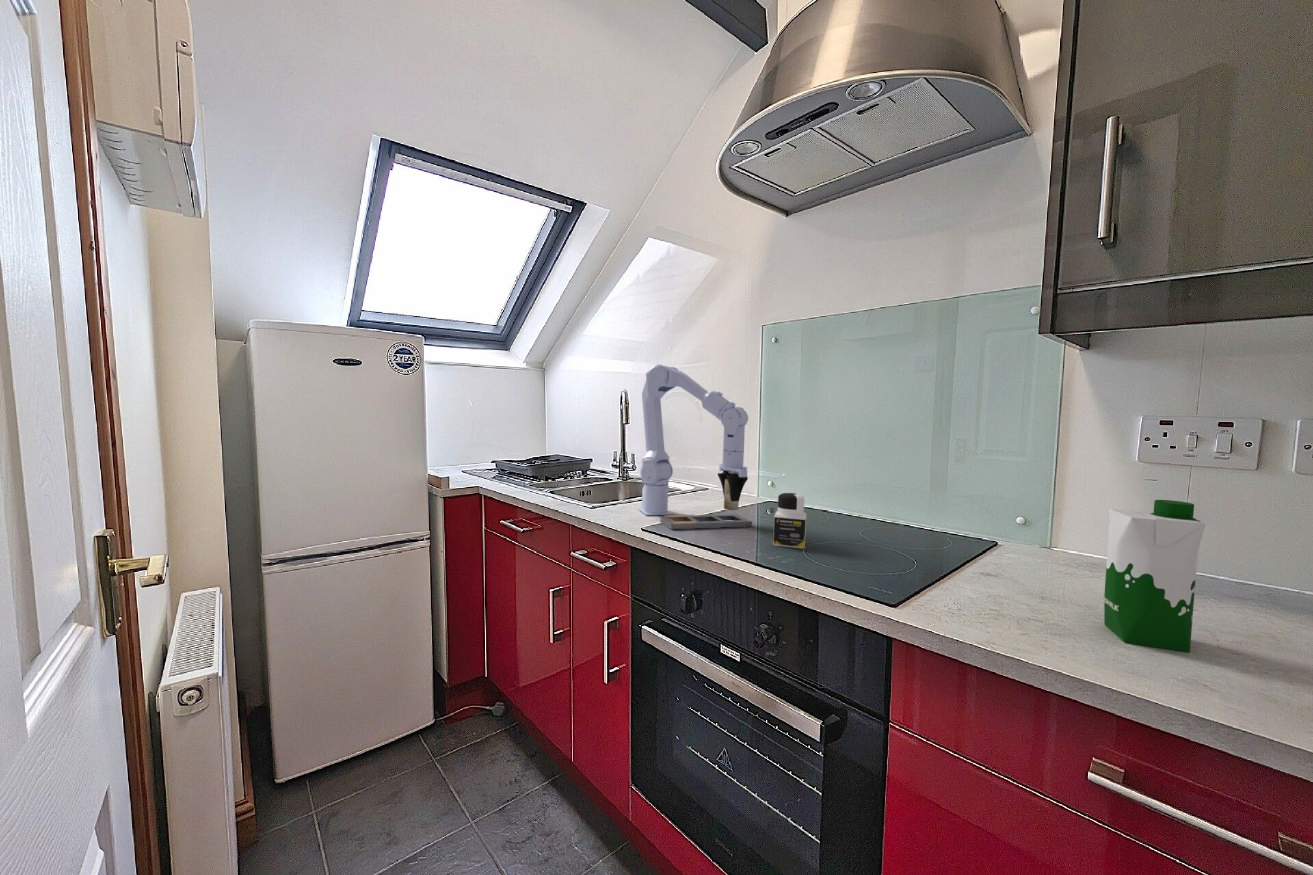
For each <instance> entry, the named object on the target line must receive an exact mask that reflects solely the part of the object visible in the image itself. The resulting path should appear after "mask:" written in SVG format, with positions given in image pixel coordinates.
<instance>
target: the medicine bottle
mask: <svg viewBox="0 0 1313 875" xmlns="http://www.w3.org/2000/svg"><path fill="white" fill-rule="evenodd" d="M806 528H807V513H806V512H805V496H804V495H803V494H800V493H794V492H783V493H780V494H779V495H778V497H777V510H776V511H775V513H774V515H773V538H772V545H773V546H775V547H786V548H794V549H795V548H798V549H805V548H806Z"/></svg>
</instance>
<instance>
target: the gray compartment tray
mask: <svg viewBox="0 0 1313 875" xmlns="http://www.w3.org/2000/svg"><path fill="white" fill-rule="evenodd" d="M659 516H660V518H659V519H660V523H661V524H662V525H664V526H665V527H667V528H668V529H669V528H670V529H669V530H671V529H683V530H691V529H690V528H710V529H721V528H720V527H738V528H745V527H744V526H752V527H753V521H752V520H750V519H748V518H746V517H743V516H741V515H739V514H737V513H735V514H733V513H730V514H727V513H726V514H702V515H701V514H700V515H699V514H698V515H693V514H692V515H685V514H676V515H675V514H672V515H659ZM725 520H733V521H725Z"/></svg>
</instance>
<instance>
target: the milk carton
mask: <svg viewBox="0 0 1313 875" xmlns="http://www.w3.org/2000/svg"><path fill="white" fill-rule="evenodd" d="M1194 508H1195V504H1194V503H1192V502H1185V501H1180V500H1178V501H1177V500H1169V499H1155V500H1154V503H1153V511H1148V510H1140V509H1130V510H1126V509H1115V508H1109V514H1108V516H1109V518H1108V519H1109V520H1108V539H1107V553H1106V569H1105V582H1104V583H1105V584H1104V594H1103V595H1104V596H1103V597H1104V598H1103V599H1104V602H1103V604H1104V606H1103V608H1104V610H1103V612H1104V616H1103V617H1104V626H1106V627H1107V628H1108V629H1109V630H1110V631H1112V632H1113V634H1114V635H1116V637H1118V638H1119V639H1120V640H1121V641H1122V642H1124V643H1126V644H1133V645H1140V646H1143V647H1146V646H1147V647H1153V648H1158V649H1165V650H1172V651H1177V652H1184V653H1191V645H1192V644H1191V643H1192V631H1193V630H1192V629H1193V616H1194V603H1195V592H1196V579H1197V578H1196V577H1197V566H1198V554H1199V549H1200V545H1201V541H1202V538H1203V534H1204V532H1205V531H1204V529H1205V526H1206V523H1205V522H1203V521H1202V522H1201V520H1198V519H1196V518H1195V517H1194V513H1195V512H1194V510H1195V509H1194Z"/></svg>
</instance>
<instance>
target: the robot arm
mask: <svg viewBox="0 0 1313 875" xmlns="http://www.w3.org/2000/svg"><path fill="white" fill-rule="evenodd" d="M645 379H646V380H645V383H644V386H643V389H642V392H641V399H642V400H641V402H642V410H643V411H642V413H643V422H644V437H645V450H646V452H645V454H644V455H643V457H642V460H641V461H642V464H641V469H640V477H641V480H642V481H643V484H644V485H643V487H642V489H641V490H642V491H641V492H642V493H641V507H639V508H638V510H639V511H640V512H641V513H642V514H643V515H645V516H667V515H673V513H672V512H671V511H670V510H668V509H669V508H668V507H669V480H670V479H671V478H672V476H673V472H674V470H673V466H672V464H671V462H670V456H669V455H668V453H667V452H666V450H665V442H664V440H665V439H664V428H663V427H664V426H663V416H662V404H661V399H662V397H664V396H665V394H667V392H669V391H671V390H673V389H675V387H678V388H679V387H680V388H681V389H682V390H684V391H685V392H687V393H688V394H690V395H692V396H693V397H695V398H696V399H698V400H699V401H700V402H701V405H702V409H704V410H706V411H707V412H708V413H709V414H711V415H712V416H714V417H715V418H717V420H719V421H720V423H721V425H722V426H723V443H722V445H723V446H722V447H723V448H722V463H719V466H718V468H719V469H718V470H719V471H720V472H717V476H718V477H717V478H718V479H719V480H720V481H719V482H720V484H721V488H722V492H723V495H724V492H725V479H727V480H728V483H729V488H730V499H731V501H740V498H741V494H742V491H743V489H744V487H745V485H746V482H747V481H748V479H749V478H748V467H747V466H744V457H745V455H744V454H745V431H746V430H745V427H746V425H747V423H748V421H749V415H748V413H747V411H746V410H745V409H744V408H743V407H741V406H740V407H739V406H737V407H736V403H735V402H734V401H729V400H728V399H726V398H725V397H724V396H723V395H724V394H723V393H722V392H720V391H715V390H713V391H708V390H707V389H705V388H704V387H703V386H701V385H700V384H699V383H698V382H696V381H695V380H694V379H693V378H691V377H690V376H689V375H688V374H686V373H685V372H683V371H682V370H679V369H678V368H676V367H674V366H665V365H663V364H659V363H658V364H654V365H653V366H652V367H651V368H649V369H648V371H647V372H646V373H645Z"/></svg>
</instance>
